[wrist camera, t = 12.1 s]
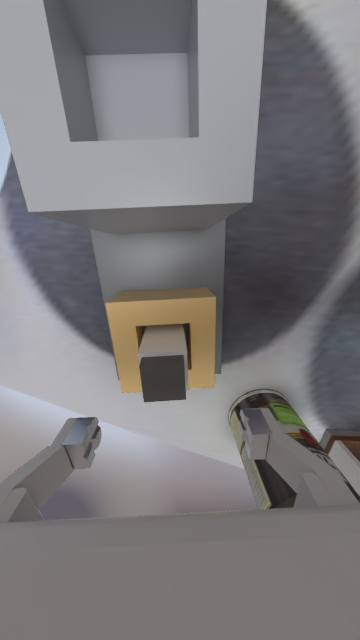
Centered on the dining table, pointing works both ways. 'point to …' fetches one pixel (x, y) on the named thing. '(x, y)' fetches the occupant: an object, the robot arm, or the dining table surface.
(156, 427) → the dining table surface
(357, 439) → the striped beige pillar
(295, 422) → the coffee can
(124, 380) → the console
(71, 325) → the dining table surface
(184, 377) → the plug
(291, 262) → the dining table surface
